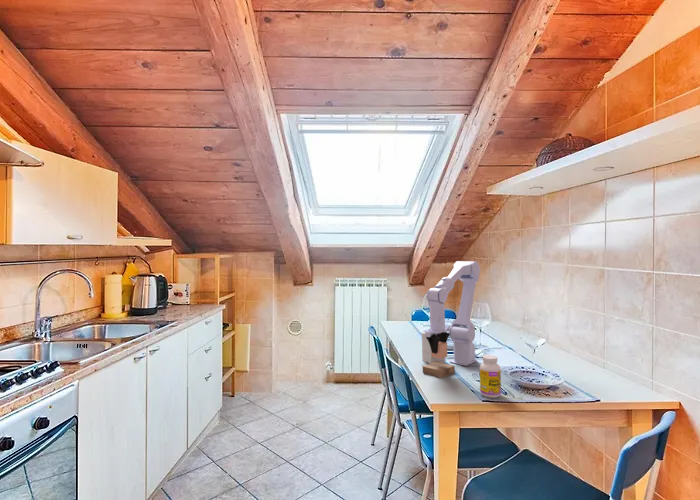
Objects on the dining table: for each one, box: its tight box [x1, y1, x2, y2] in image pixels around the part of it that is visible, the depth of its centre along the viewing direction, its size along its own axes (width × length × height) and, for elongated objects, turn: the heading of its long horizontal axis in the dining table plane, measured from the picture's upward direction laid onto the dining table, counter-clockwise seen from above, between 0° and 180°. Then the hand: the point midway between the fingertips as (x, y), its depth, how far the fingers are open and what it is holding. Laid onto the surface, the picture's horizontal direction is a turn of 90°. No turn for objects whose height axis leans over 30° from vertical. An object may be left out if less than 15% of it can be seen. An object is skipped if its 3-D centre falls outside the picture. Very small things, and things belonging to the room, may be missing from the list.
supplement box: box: [421, 331, 446, 364], centre depth 170 cm, size 7×7×13 cm
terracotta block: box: [431, 341, 448, 359], centre depth 155 cm, size 4×4×6 cm
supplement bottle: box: [479, 354, 502, 399], centre depth 131 cm, size 7×7×13 cm
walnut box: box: [422, 361, 456, 379], centre depth 155 cm, size 9×9×3 cm
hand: (438, 351), depth 155 cm, fingers closed on terracotta block, 4 cm apart
